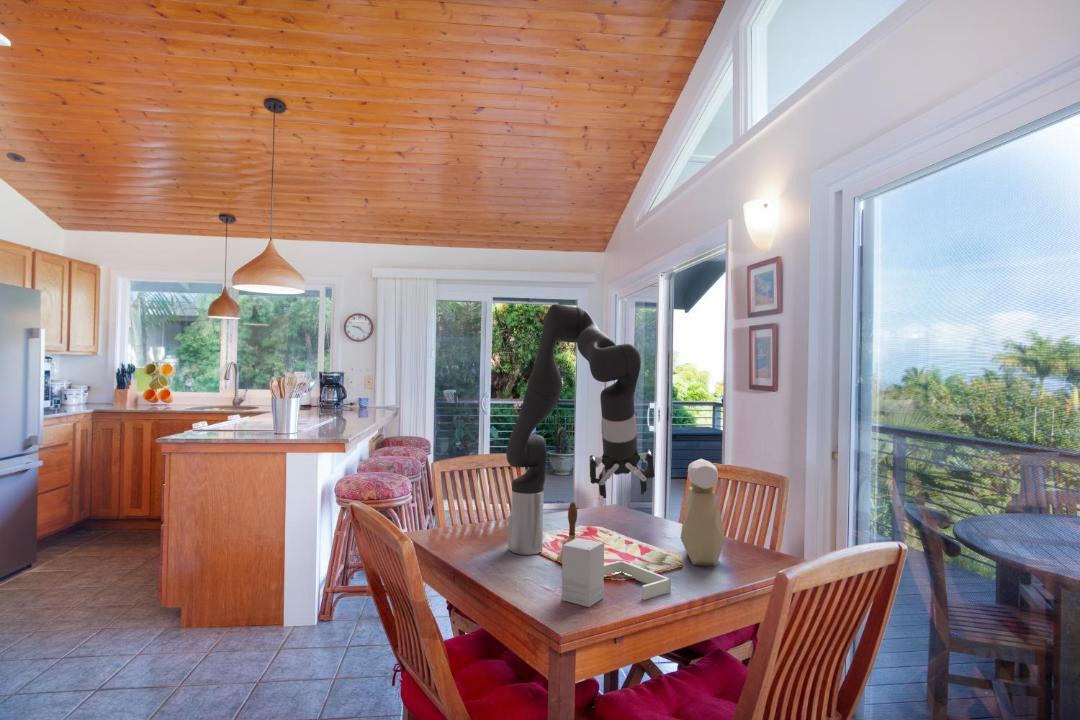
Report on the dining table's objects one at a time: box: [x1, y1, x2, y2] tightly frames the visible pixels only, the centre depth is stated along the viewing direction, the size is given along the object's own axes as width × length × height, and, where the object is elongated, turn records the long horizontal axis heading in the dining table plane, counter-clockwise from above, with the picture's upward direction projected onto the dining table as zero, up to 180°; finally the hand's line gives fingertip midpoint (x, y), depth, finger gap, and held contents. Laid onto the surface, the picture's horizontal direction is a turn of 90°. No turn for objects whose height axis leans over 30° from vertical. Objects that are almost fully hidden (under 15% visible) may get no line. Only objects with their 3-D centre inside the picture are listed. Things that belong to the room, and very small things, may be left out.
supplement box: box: [561, 537, 605, 608], centre depth 133 cm, size 7×7×13 cm
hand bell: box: [556, 501, 578, 562], centre depth 160 cm, size 8×8×16 cm
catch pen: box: [604, 560, 672, 601], centre depth 142 cm, size 9×17×3 cm, turn 36°
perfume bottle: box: [680, 458, 726, 567], centre depth 163 cm, size 12×24×28 cm, turn 173°
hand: (622, 494), depth 133 cm, fingers open, 8 cm apart
